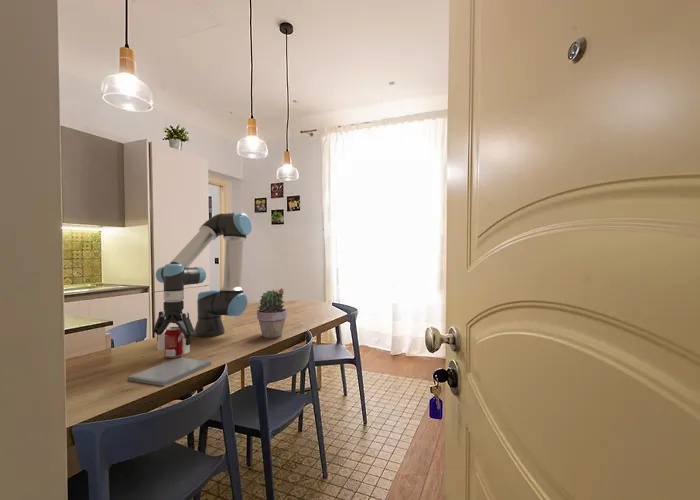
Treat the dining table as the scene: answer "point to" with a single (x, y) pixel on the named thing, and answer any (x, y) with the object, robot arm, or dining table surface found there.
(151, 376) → the slate board
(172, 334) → the soda can
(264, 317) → the potted plant
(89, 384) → the dining table surface
